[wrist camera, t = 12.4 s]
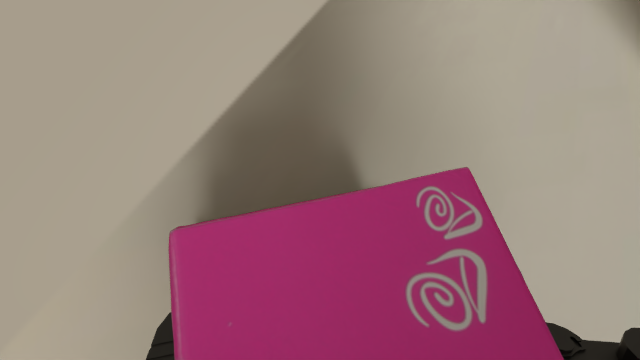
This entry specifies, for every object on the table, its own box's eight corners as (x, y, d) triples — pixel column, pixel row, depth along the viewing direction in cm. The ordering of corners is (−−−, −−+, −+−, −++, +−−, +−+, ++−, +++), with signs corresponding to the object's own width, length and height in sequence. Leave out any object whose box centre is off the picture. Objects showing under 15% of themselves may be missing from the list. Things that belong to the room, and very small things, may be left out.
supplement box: (399, 378, 14) (698, 594, 3) (273, 419, 13) (157, 873, 3) (362, 254, 16) (477, 155, 6) (251, 283, 15) (138, 228, 5)
